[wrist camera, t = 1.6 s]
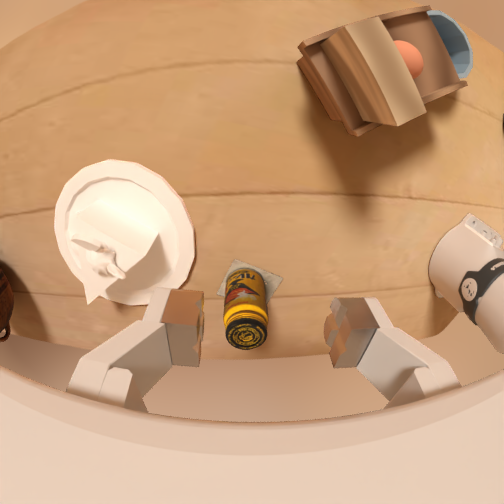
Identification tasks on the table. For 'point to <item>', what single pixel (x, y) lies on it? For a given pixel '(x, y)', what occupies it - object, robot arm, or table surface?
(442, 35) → the cup
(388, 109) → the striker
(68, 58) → the table surface
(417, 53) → the ball
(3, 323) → the vase
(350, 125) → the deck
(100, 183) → the dish
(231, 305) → the condiment
